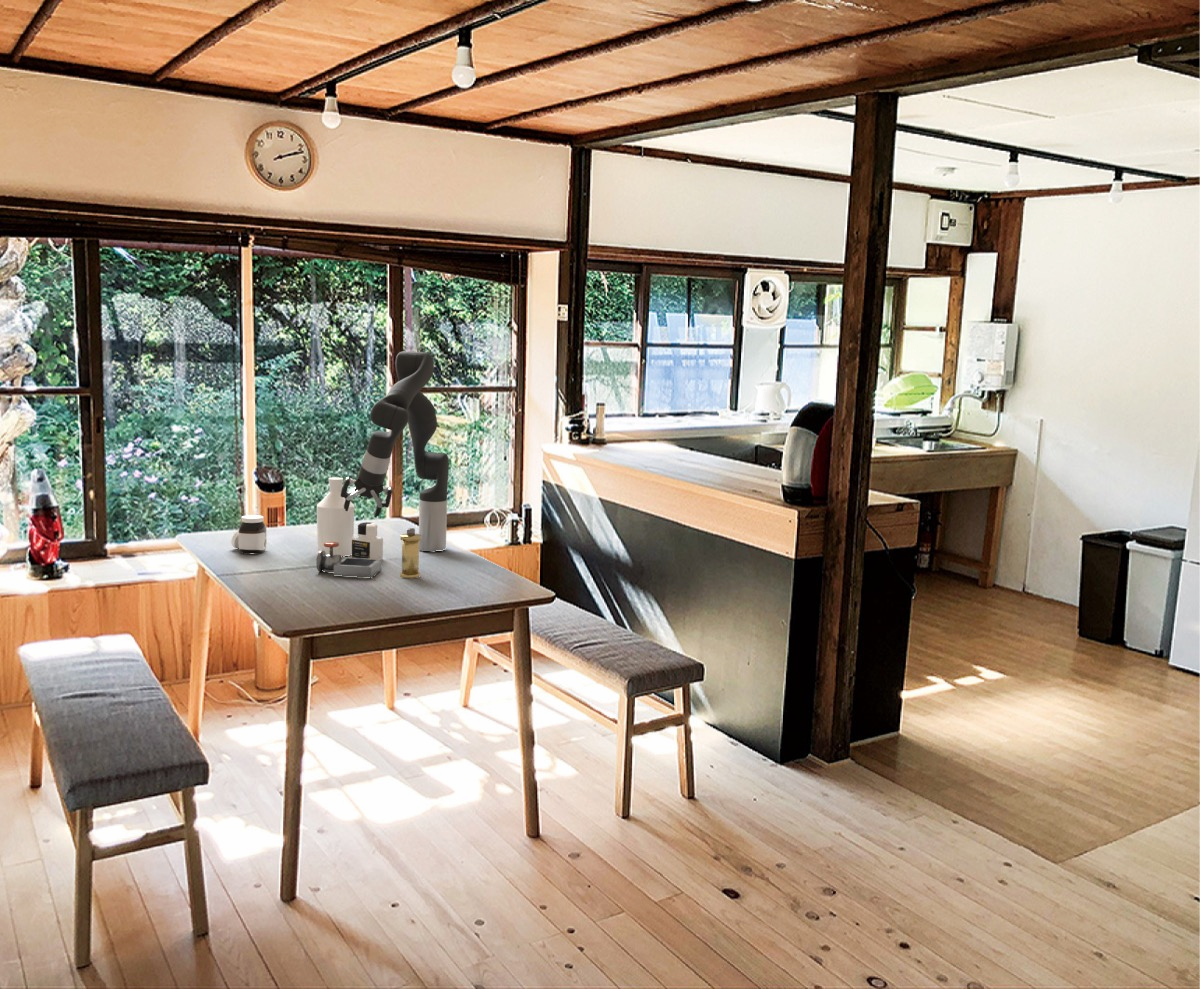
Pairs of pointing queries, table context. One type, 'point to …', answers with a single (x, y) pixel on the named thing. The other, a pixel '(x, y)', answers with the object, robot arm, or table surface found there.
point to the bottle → (335, 521)
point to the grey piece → (346, 564)
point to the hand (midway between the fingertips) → (360, 513)
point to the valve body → (410, 554)
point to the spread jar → (251, 535)
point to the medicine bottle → (367, 542)
